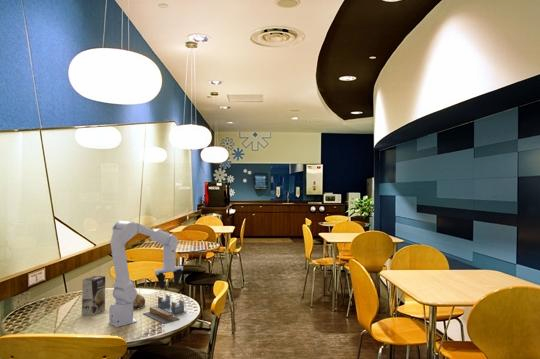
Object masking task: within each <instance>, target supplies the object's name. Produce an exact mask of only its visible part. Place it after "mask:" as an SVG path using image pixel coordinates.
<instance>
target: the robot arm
mask: <svg viewBox="0 0 540 359" xmlns="http://www.w3.org/2000/svg"><path fill="white" fill-rule="evenodd" d="M137 234H142V235H144V236H147V237H150V239H151V241H153V242H156V243H158V244H161V245H162V246H163V256H162V258H163V260H162V261H163V262H162V264H163V265H162V266H163V267H162V268H161V267H160V268H158V269H155V270H154V275H155V277H156V279H157V280H158V283H159V288H160V290H161V289H162V290H164V289H165V279H166V275H165V274H166V273H167V274H168V273H173V286H175V287H178V286H179V282H180V278H181V277H182V274H183V273H184V272H183V271H184V266H183V265H178V266H177V265H176V249H177V246H178V244H179V239H178V238H177V236H176V235H174V234H170V232H168V231H164V230H163V228H159V227H158V228H155V229H152V228H149V227H148V226H146V225H143V224H141V223H139V222H135V221H126V220H125V221H124V220H118V221H117V222H116V223H115V224H114V225H113V226H112V235H111V238H110V248H111V255H112V261H113V269H114V274H115V280H116V281H115V282H114V284H113V290H112V296H113V298H114V299H115V303H113V304H110V306H109V309H108V310H109V314H108V315H109V320H108V324H110V325H112V326H114V327H115V328H118V327H123V326H126V325H130V324H133V323H137V322H138V320H137V319H135V318H134V309H133V302H134V300H135V299H136V296H137V294H138V291H137V290H136V289H135V284H134V283H133V281H132V280H131V278H130V272H129V266H128V261H127V260H128V258H127V254H126V253H127V252H126V247H125V245H126V243H128V242H129V241H130V240H131V239H132V238H133V237H135V236H136V235H137Z"/></svg>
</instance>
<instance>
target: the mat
mask: <svg viewBox="0 0 540 359" xmlns="http://www.w3.org/2000/svg"><path fill="white" fill-rule="evenodd" d="M142 314H143V315H144V316H146V317H148V318H149V319H152V320H154V321H156V322H159V323H161V324H163V325H164V324H169V323H172V322H176V321H179V320H181V319H180V318H179V317H176V316H175V315H173V320H169V321H167V320H165V319H163V318H161V317H158V316H156V315H154V314H152V313H150V311H148V312H144V313H142Z"/></svg>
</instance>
